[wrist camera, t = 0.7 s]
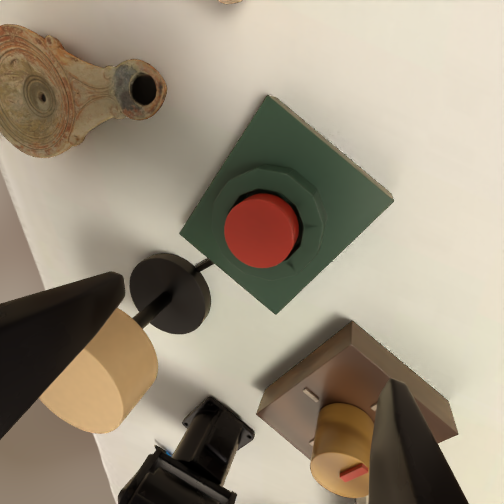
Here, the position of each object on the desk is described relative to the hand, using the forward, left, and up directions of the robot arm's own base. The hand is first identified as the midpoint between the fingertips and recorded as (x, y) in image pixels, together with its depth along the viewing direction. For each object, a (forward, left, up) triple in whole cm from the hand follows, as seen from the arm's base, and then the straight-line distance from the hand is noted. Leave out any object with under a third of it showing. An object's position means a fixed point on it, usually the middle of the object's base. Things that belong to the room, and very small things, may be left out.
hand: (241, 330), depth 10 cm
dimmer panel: (-11, -13, -15) cm, 22 cm away
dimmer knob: (-11, -13, -12) cm, 21 cm away
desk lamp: (-13, +5, -15) cm, 20 cm away
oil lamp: (-6, +21, -15) cm, 26 cm away
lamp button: (-2, +2, -11) cm, 11 cm away
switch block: (-2, +2, -15) cm, 15 cm away
